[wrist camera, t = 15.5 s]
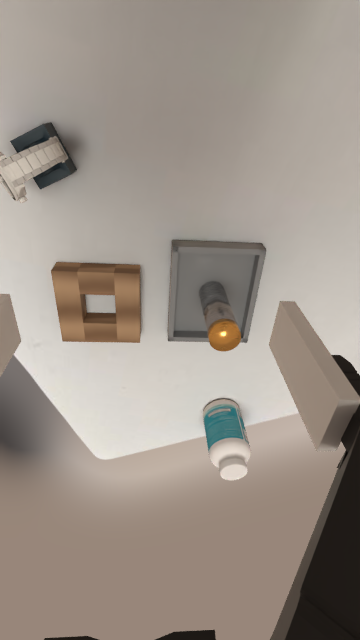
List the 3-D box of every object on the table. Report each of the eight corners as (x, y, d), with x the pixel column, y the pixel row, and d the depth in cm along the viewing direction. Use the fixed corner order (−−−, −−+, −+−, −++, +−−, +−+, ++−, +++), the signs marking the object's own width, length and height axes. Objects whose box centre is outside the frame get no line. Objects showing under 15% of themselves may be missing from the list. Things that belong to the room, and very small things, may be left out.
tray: (172, 239, 47) (172, 246, 45) (261, 243, 48) (266, 249, 46) (167, 332, 56) (167, 341, 54) (243, 333, 57) (247, 342, 55)
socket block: (56, 262, 48) (51, 270, 46) (140, 265, 49) (139, 273, 46) (67, 330, 55) (62, 341, 52) (140, 331, 56) (139, 342, 53)
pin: (197, 303, 52) (207, 351, 42) (200, 280, 50) (210, 325, 40) (223, 304, 53) (238, 351, 43) (226, 281, 51) (243, 325, 40)
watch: (6, 145, 40) (-40, 158, 31) (64, 115, 38) (34, 119, 29) (34, 191, 43) (0, 215, 34) (89, 164, 41) (69, 182, 32)
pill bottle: (195, 413, 67) (202, 476, 56) (219, 391, 64) (232, 453, 53) (222, 427, 70) (234, 489, 59) (247, 407, 67) (264, 469, 56)
